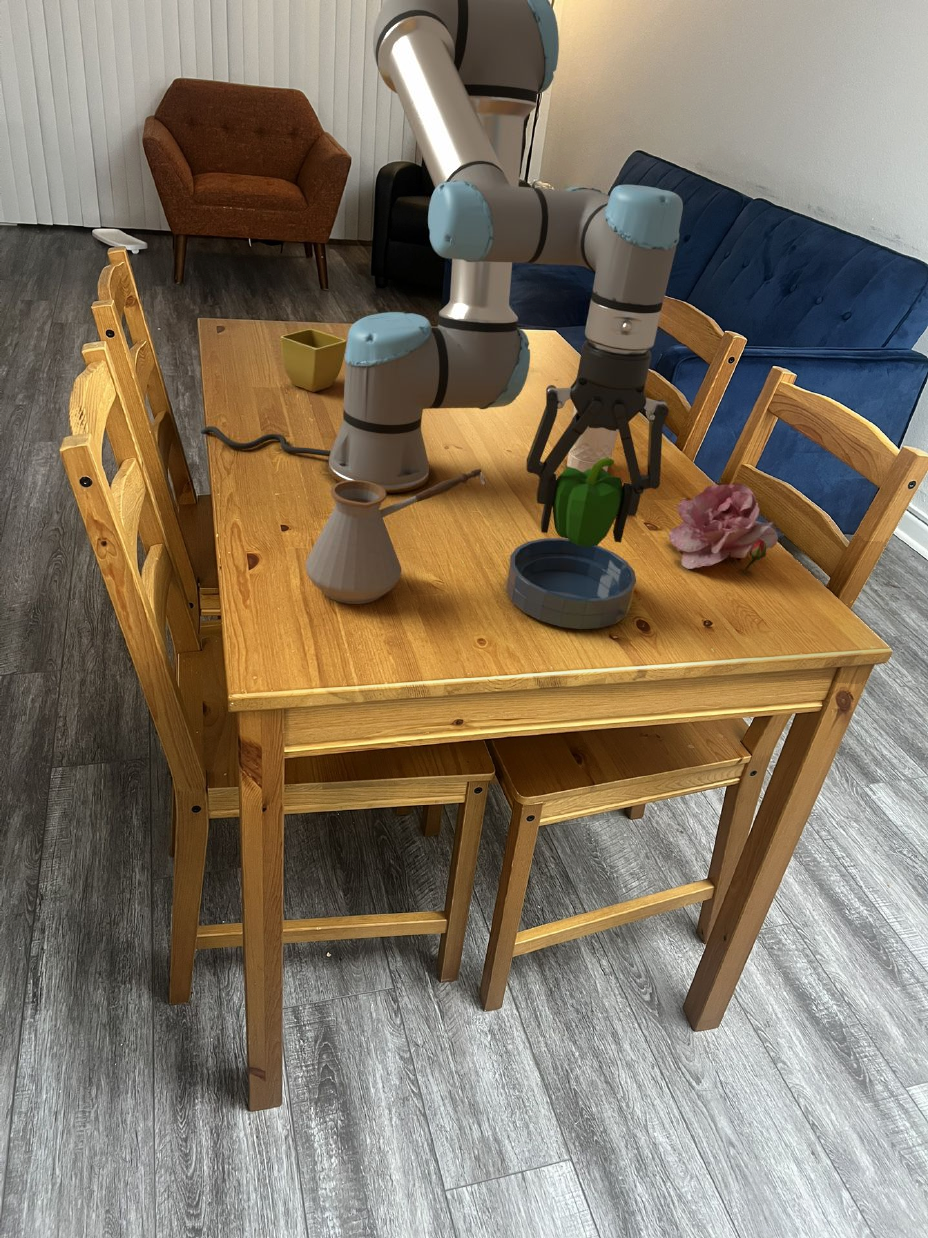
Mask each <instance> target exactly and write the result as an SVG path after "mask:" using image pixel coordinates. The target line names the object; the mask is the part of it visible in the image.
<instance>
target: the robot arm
mask: <svg viewBox="0 0 928 1238" xmlns="http://www.w3.org/2000/svg"><path fill="white" fill-rule="evenodd" d="M558 26H559V25H558V22H557V17H556V13H555V11H554V9H553V8H552V5H551V1H550V0H385V1H384V3H383V5H382V6H381V8H380V10H379V12H378V15H377V17H376V21H375V24H374V28H373V36H372V37H373V38H372V49H373V55H374V60H375V63H376V66H377V69H378V71H379V72H378V73H379V74H380V76H381V79H382V81H383V82H384V84H385V85H386V86H387V87H388V89H390V91H392V92H393V93H395V94H397V96H398V99H399V102H400V104H401V106H402V109H403V111H404V114H405V116H406V120H407V121H408V124H409V126H410V129H411V131H412V134H413V136H414V139H415V141H416V143H417V146H418V149H419V151H420V153H421V156H422V159H423V161H424V163H425V166H426V169H427V171H428V174H429V176H430V178H431V181H432V184H433V186H434V190H433V193H432V195H431V198H430V200H429V206H428V212H427V213H428V215H427V224H428V226H427V227H428V229H429V241H430V244H431V247H432V249H433V251H434V252H435V253H436V254H437V255H438V256H439V257H441V258H444V259H450V260H451V259H452V260H451V275H450V276H451V278H450V293H449V301H448V303H447V304H446V305H445V306H444V307H443V308H442V309H440V310H439V311H438V323H437V326H432V325H431V322H430V320H429V319H428V318H426V317H425V316H423V315H421V314H417V313H411V312H410V313H405V312H402V311H389V312H381V313H375V314H370V315H367V316H365V317H361V318H360V319H358V320H357V321H355V322H354V323H353V324H352V325H351V326H350V328H349V330H348V333H347V343H346V348H345V354H344V361H345V367H344V369H345V371H344V387H343V388H344V390H343V416H342V423H341V425H340V428H339V430H338V432H337V435H336V437H335V441H334V443H333V445H332V448H331V450H328V449H327V450H326V449H320V448H311V447H299V446H298V447H296V446H290V445H288V444H287V439H286V437H285V436H284V435H282V434H278V433H269V434H265V435H262V436H260V437H259V438H257V439H255V440H252V441H250V442H236V441H234V440H231V439H230V438H228V437H227V436H226V435H225V434H224V433H223V432H222V431H221V430H220V429H219V428H218V427H216V426H214V425H209V426H206V427H205V428H203V429H202V430H201V431H200V434H202V435H208V434H210V433H213V434H215V435H216V436H217V437H218V439H220V441H222V442H223V443H224V444H225V445H227V446H229V447H231V448H234V449H238V450H248V449H249V450H250V449H254V448H256V447H258V446H260V445H261V444H263V443H265V442H268V441H279V442H280V447H281V449H282V450H283V451H285V452H288V453H291V454H302V455H303V454H305V455H315V456H322V457H328V467H327V469H328V472H329V473H328V474H329V475H330V476H331V477H332V478H333V480H335V481H337V483H339V482H342V481H348V480H360V481H367V482H371V483H374V484H377V485H379V486H380V487H382V488H383V489H384V490H385V492H386V494H399V493H406V492H410V491H414V490H417V489H418V488H420V487H422V486H424V485H425V484H426V483H427V482H428V480H429V473H430V463H429V458H428V454H427V449H426V445H425V441H424V437H423V432H422V420H423V411H424V410H427V409H428V410H429V409H430V410H431V409H432V410H435V409H436V410H438V409H479V410H487V409H490V408H503V407H507V406H509V405H510V404H512V403H513V402H514V401H515V400H516V399H517V397H519V396H520V394H521V392H522V391H523V390H524V389H523V388H524V387H525V384H526V382H527V378H528V375H529V370H530V363H531V349H530V348H529V346H530V341H529V338H528V336H527V334H526V332H525V331H524V330H523V329H521V328H519V327H518V323H519V317H518V316H517V314H516V313H515V312H514V310H512V308H511V306H510V296H511V295H510V294H511V285H512V283H511V282H512V271H513V270H512V269H513V263H518V264H519V263H521V264H522V263H523V264H535V265H536V264H538V265H559V266H579V267H584V268H585V269H588V270H590V271H592V272H593V273H594V274H595V275H594V280H593V287H592V292H591V298H590V302H589V307H588V308H589V309H588V314H587V319H586V323H585V330H584V336H585V337H586V338H587V340H585V341H584V342H583V343H582V345H581V346H582V347H581V352H580V358H579V363H578V369H577V373H576V378H575V380H574V382H573V383H572V384H571V386H570V387H557V386H555V385H553V384H550V385H548V386H547V387H546V390H545V401H546V402H545V403H546V404H545V408H544V410H543V413H542V416H541V419H540V421H539V424H538V427H537V429H536V433H535V436H534V438H533V441H532V443H531V445H530V449H529V451H528V455H527V457H526V462H525V463H526V464H525V465H526V471H527V472H528V473H529V474H533V475H536V476H537V477H538V478H539V479H538V483H537V488H536V502H537V504H538V505H543V509H542V514H541V521H540V532H541V533H542V534H548V533H549V527H550V523H551V522H550V521H551V516H552V512H553V500H554V494H555V489H556V483H557V482H556V480H557V474H556V472H557V470H558V468H559V467H560V466H561V465H562V463H563V461H564V460H565V458H566V457H568V454H569V451H570V450H571V448H572V447H573V445H574V444H575V443H576V441H577V440H578V438H579V437H580V436H581V435H582V434H583V433H584V432H585V430H586V429H587V427H588V426H589V428H605V429H608V430H611V431H616V429H619V431H618V434H619V437H620V442H621V445H622V446H621V447H622V450H623V454H624V457H625V462H626V466H627V470H628V475H629V478H630V482H623V483H622V485H623V497H622V501H621V506H620V509H619V512H618V514H617V516H616V518H615V520H614V525H613V529H612V534H613V540H614V543H622V540H623V535H624V532H625V527H626V522H627V517H628V516H634V517H635V515H636V514H637V512H638V509H639V505H640V499H641V496H642V494H643V493H644V491H645V490H647V489H648V490H649V489H653V490H656V489H658V488H659V487H660V485H661V472H662V471H661V469H662V468H661V467H662V448H663V447H662V445H663V427H664V425H665V422H666V421H667V420H666V419H667V418H668V415H669V412H670V410H669V407H668V404H667V402H666V401H665V400H664V399H662V398H660V399H657V400H655V399H652V398H649V397H647V396H646V393H645V387H646V383H647V378H648V374H649V370H650V366H651V361H652V357H653V356H652V353H651V351H650V349H651V348H652V347H654V345H655V342H656V337H657V332H658V328H659V322H660V319H661V313H662V308H663V304H664V301H665V296H666V292H667V287H668V284H669V280H670V275H671V271H672V267H673V264H674V263H673V262H674V259H675V254H676V250H677V245H678V244H679V241H680V234H681V233H680V226H681V222H682V215H683V209H684V205H683V204H684V203H683V200H682V198H681V197H680V196H679V194H677V193H675V192H673V191H671V190H667V189H662V188H661V189H660V188H658V187H653V186H646V185H639V184H638V185H637V184H619V185H617V186H615V187H614V188H613V189H612V191H611V192H610V195H609V194H606V193H605V192H602V191H601V190H599V189H597V188H595V187H592V188H591V187H584V186H570V187H568V188H566V189H553V188H552V189H551V188H538V187H526V186H520V185H519V184H520V172H521V162H522V161H521V160H522V150H523V148H522V147H523V137H524V136H523V135H524V125H525V124H524V123H525V120H526V118H527V117H528V116H529V114H531V113H532V112H533V111H534V110H535V109H536V107H537V104H538V95H539V94H541V93H544V92H546V91H547V90H548V89H549V87H550V86H551V84H552V82H553V81H554V79H555V78H554V77H555V76H554V75H555V74H554V73H555V72H556V71H557V67H558V61H559V51H560V41H559V40H560V38H559V27H558ZM568 400H571V402H572V404H573V407H574V406H575V408H576V410H577V413H576V414H575V415H574V417H573V416H572V417H573V419H572V418H571V421H570V423H569V424H568V426H567V427H566V429H565V430H564V431H563V433H562V435H561V436H560V438H559V439H558V440H557V442H556V443H555V445H554V446H553V447H552V449H551V451H550V452H549V453H548V455H547V456H546V458H545V459H544V460H543V461H541V460H542V457H543V454H544V452H545V449H546V446H547V443H548V440H549V438H550V435H551V433H552V429H553V427H554V425H555V422H556V419H557V416H558V410H560V409H562V408H564V407H565V404H566V402H567V401H568ZM643 409H644V410H645V415H646V416H645V417H646V418H647V420H648V439H647V440H648V441H647V466H646V473H645V474H641V471H640V466H639V463H638V462H639V461H638V458H637V454H636V450H635V445H634V441H633V437H632V432H631V428H630V424H629V423H630V422H631V421H632V420H633V418H635V417H636V416H637V415H638V414H639V413H641V411H642V410H643Z"/></svg>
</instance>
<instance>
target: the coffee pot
mask: <svg viewBox="0 0 928 1238" xmlns="http://www.w3.org/2000/svg"><path fill="white" fill-rule="evenodd" d="M477 477H478V478H479V480H480V482H481V484H482V485H483V486H485V485H487V480H486V478H485V476H484V474H483V471H482V469H481V468H477V469H472V470H471V471H470V472H468V473H465V472H464V473H463V472H462V473H460V475H459V476H457V477H454V478H449V479H446V480H443V481H442V482H439V483H437V484H435V485H432V486H431V487H429V488H427V489H425V490H422V491H421V492H419V493H417V494H414V496H410V497H408V498H406V499H404V500H401V501H398V502H396V503H394V504H391V505H388V506H386V507H384V508H381V505H382V503H384V501H385V500H386V498H387V493H386V492H385V490H384V489H383V488H382V487H380V486H379V485H377V484H374V483H371V482H367V481H360V480H348V481H342V482H337V483H334V484H333V485H332V486H331V488H330V492H329V493H330V497H332V499H333V500H334V504H335V505H334V508H333V509H332V511H331V513H330V515H329V517H328V519H327V520H326V522H325V524H324V526H323V528H322V530H321V532H320V534H319V536H318V538H317V539H316V541H315V543H314V545H313V547H312V549H311V550H310V552H309V554H308V556H307V558H306V562H305V570H306V574H307V576H308V579H309V580H310V581H311V583H312V584H313V586H314V587H316V589H318V590H319V591H320V592H322V593H323V594H324V595H325V596H326V597H328V598H329V599H331V600H334V601H336V602H339V603H341V604H351V605H362V604H368V603H371V602H374V601H376V600H378V599H380V598H381V597H382V596H384V595H385V594H387V593H389V592H390V591H391V590H392V589H393V588H394V587H395V586H396V585H397V583H398V582H399V580H400V578H401V576H402V566H401V562H400V559H399V557H398V555H397V553H396V550H395V547H394V544H393V542H392V539H391V537H390V534H389V531H388V528H387V525H386V523H385V520H384V518H386V517H387V516H389V515H392V514H394V513H396V512H398V511H400V510H403V509H405V508H407V507H409V506H411V505H414V504H416V503H419V502H422V501H424V500H427V499H430V498H432V497H435V496H439V495H441V494H443V493H446V492H449V491H450V490H452V489H454V488H456V487H457V486H458V485H460V484H467V483H468V481H469V480H470V479H474V478H475V479H476V478H477ZM482 478H483V479H482Z"/></svg>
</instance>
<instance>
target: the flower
mask: <svg viewBox="0 0 928 1238" xmlns="http://www.w3.org/2000/svg"><path fill="white" fill-rule="evenodd" d="M760 510H761V509H760V508H759V502H758V500H757V497H756V495H755V493H754V492H753V491H752V489H750V488H749V487H748V486H746V485H745V484H742V483H739V484H721V485H719V484H712V485H708V486H706V487H705V489H704V490H703V491H702V492H700V493H697V495H695V496H693V497H692V499H691V500H688V499H684V498H682V499H681V502H680V503H679V504H677V505H676V511H677V512H678V515H679V517H680V519H681V521H682V522H681V524H679V525H678V526H677V527H675V528H673V529H671V530H670V531H669V533H668V537H669V542H670V543H671V544H672V546H674V547H676V549H677V550H676V551H678V552H682V556H681V559H680V563H681V566H682V567H684V568H685V569H687V570H689V569H692V570H693V569H696V568H697V569H700V568H702V567H703V566H704V567H710V566H713V565H715V564H719V563H720V562H722V561H723V560H725V559H726V558H728V557H729V556H730V557H732V558H736V559H744V558H745V559H746V557H747V556H748V555H749V556H751V560H750V561H749V562H748V564H747V566H746V567H745V570H744V573H746V572H747V571H748V569H750V567H751V566H752V565H753V564H754V563H755V562H756V561H759V560H761V559H762V558H764V557H766V556H767V550H768V549H769V550H770V549H774V547H775V546H776V545H777V543H778V541H779V535H778V532H777V530H775V529H774V528H773V527H772V526H774V524H775V521H770V522H764V523H763V522H761V521H759V520H757V519H758V518H759V515H760Z"/></svg>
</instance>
